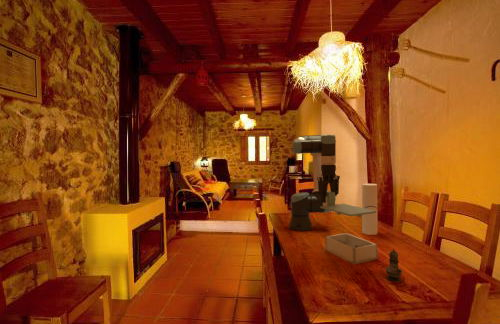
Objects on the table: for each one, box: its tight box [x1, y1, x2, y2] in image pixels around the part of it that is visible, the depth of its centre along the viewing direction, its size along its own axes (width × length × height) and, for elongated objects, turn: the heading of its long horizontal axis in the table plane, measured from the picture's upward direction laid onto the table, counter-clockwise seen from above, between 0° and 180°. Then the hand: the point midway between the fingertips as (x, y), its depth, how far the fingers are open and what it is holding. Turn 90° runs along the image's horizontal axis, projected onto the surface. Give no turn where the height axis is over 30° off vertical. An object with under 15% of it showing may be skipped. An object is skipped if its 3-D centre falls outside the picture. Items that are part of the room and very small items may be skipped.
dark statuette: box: [385, 248, 403, 283], centre depth 106 cm, size 6×6×12 cm
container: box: [361, 183, 379, 236], centre depth 166 cm, size 9×9×30 cm
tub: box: [324, 232, 378, 265], centre depth 132 cm, size 20×14×7 cm
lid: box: [320, 190, 376, 218], centre depth 133 cm, size 26×15×9 cm, turn 24°
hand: (328, 208), depth 143 cm, fingers closed on lid, 4 cm apart
